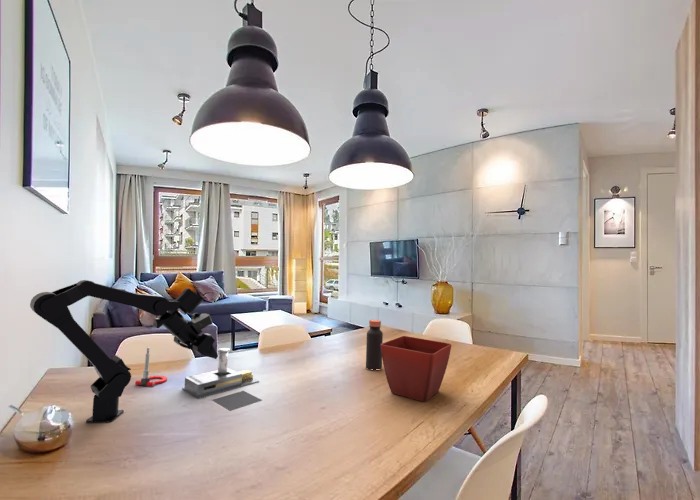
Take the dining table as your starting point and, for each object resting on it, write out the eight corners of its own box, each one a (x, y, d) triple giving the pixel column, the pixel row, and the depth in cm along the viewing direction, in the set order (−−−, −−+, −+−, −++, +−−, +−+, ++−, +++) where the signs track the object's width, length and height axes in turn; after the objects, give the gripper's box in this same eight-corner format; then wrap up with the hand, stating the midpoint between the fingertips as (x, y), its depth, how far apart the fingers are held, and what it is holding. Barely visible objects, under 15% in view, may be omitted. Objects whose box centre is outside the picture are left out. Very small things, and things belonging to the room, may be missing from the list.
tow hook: (151, 378, 128) (132, 385, 119) (154, 342, 129) (135, 347, 120) (172, 380, 127) (154, 387, 117) (175, 344, 128) (157, 349, 118)
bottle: (362, 367, 146) (363, 320, 147) (373, 364, 151) (374, 318, 151) (373, 371, 141) (375, 322, 142) (385, 368, 146) (386, 321, 146)
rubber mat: (230, 412, 100) (230, 410, 100) (211, 401, 108) (211, 399, 108) (262, 401, 109) (262, 400, 109) (243, 391, 116) (243, 390, 116)
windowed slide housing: (198, 400, 108) (199, 386, 108) (182, 389, 116) (182, 376, 116) (258, 383, 124) (259, 370, 125) (240, 375, 132) (241, 363, 133)
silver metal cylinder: (229, 384, 120) (230, 349, 120) (216, 386, 117) (218, 350, 118) (226, 381, 123) (228, 347, 124) (214, 383, 121) (216, 348, 121)
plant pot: (451, 391, 123) (452, 343, 123) (431, 409, 107) (432, 354, 107) (402, 379, 133) (403, 335, 134) (377, 394, 118) (379, 344, 118)
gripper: (211, 309, 108) (241, 340, 115) (185, 303, 120) (213, 331, 128) (183, 338, 101) (217, 368, 109) (159, 328, 114) (191, 356, 122)
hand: (210, 354), depth 117 cm, fingers open, 9 cm apart
